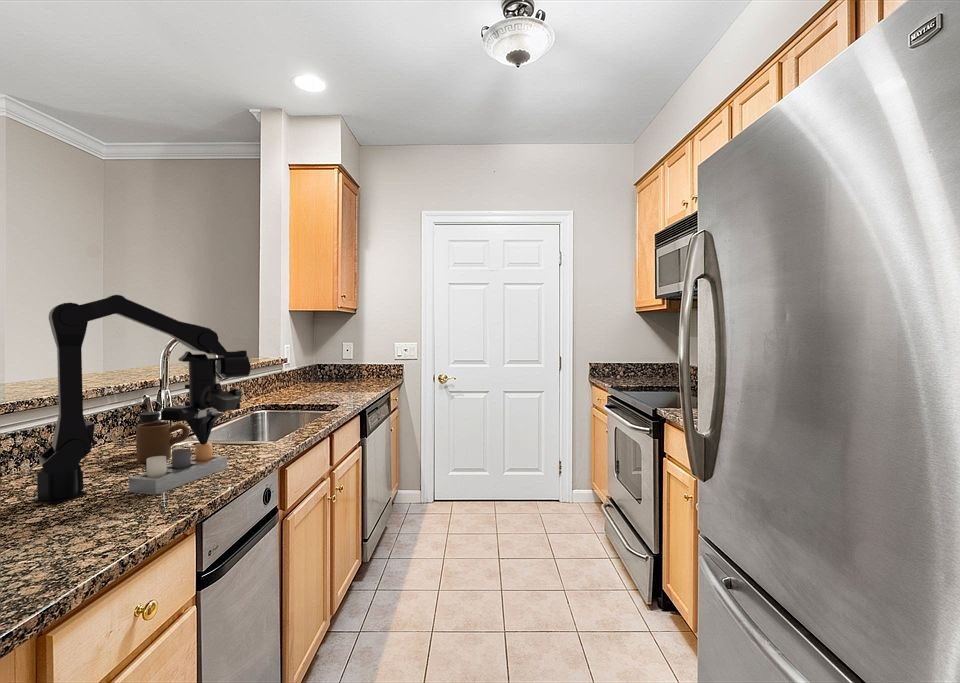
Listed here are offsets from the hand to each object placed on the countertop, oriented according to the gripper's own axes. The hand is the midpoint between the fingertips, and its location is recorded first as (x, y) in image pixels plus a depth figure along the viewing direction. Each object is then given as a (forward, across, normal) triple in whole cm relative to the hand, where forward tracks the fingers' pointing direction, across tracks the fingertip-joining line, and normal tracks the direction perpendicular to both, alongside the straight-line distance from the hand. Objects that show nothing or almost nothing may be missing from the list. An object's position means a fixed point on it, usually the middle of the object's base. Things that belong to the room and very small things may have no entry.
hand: (203, 444), depth 119 cm
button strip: (+7, -6, 0) cm, 9 cm away
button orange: (+4, 0, 0) cm, 4 cm away
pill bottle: (+7, +12, +30) cm, 33 cm away
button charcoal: (+5, -7, 0) cm, 8 cm away
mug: (+7, +7, +20) cm, 22 cm away
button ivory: (+5, -13, 0) cm, 14 cm away
